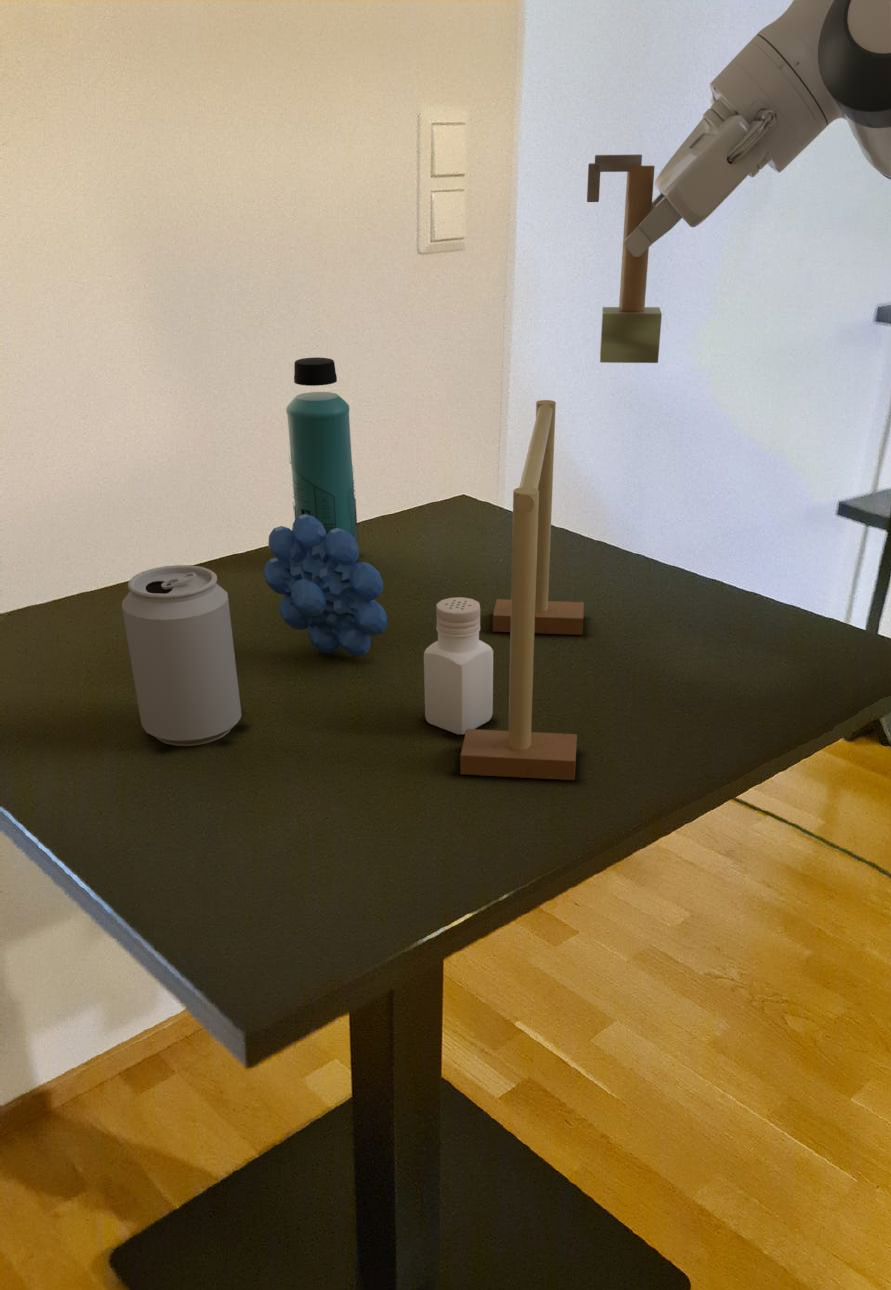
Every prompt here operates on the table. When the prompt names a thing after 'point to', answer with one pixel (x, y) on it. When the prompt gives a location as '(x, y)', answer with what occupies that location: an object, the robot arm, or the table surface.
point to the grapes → (325, 586)
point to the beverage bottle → (321, 449)
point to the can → (182, 654)
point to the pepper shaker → (458, 669)
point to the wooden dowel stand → (528, 628)
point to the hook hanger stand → (629, 269)
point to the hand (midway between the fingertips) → (628, 248)
